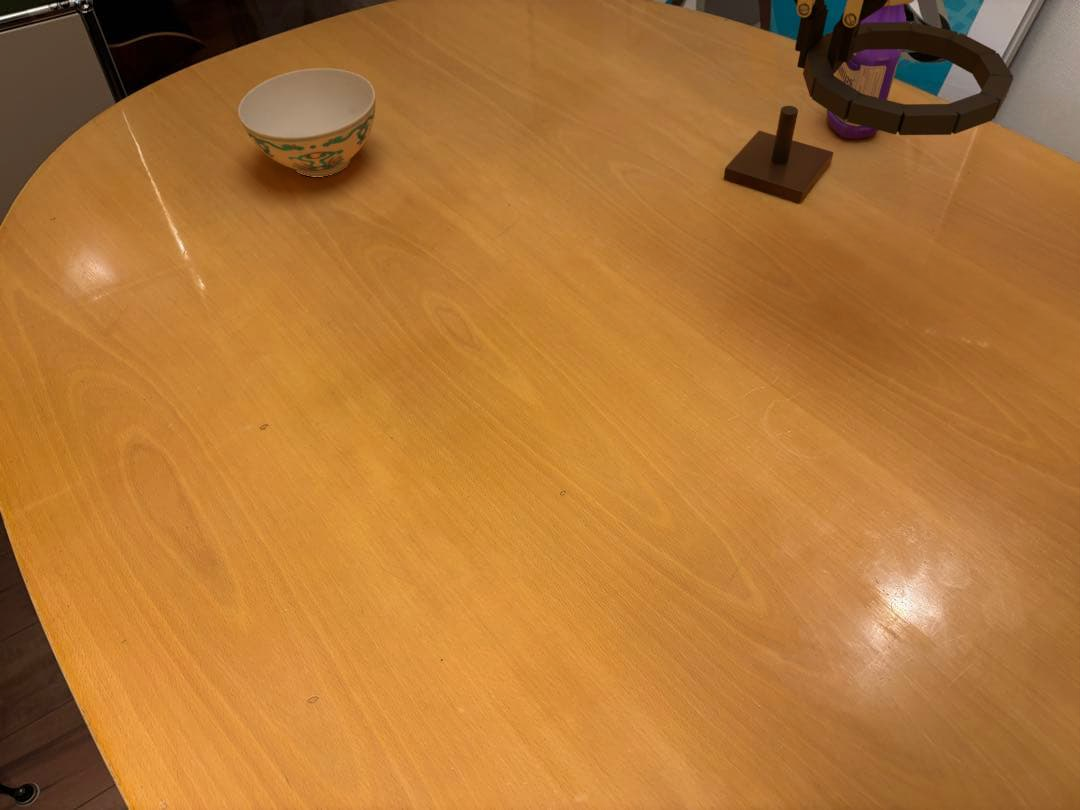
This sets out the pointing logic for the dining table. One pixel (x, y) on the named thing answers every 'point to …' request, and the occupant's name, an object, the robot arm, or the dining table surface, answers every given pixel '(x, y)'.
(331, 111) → the chinaware
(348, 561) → the dining table surface
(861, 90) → the bottle
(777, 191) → the brown peg stand
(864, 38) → the ring
